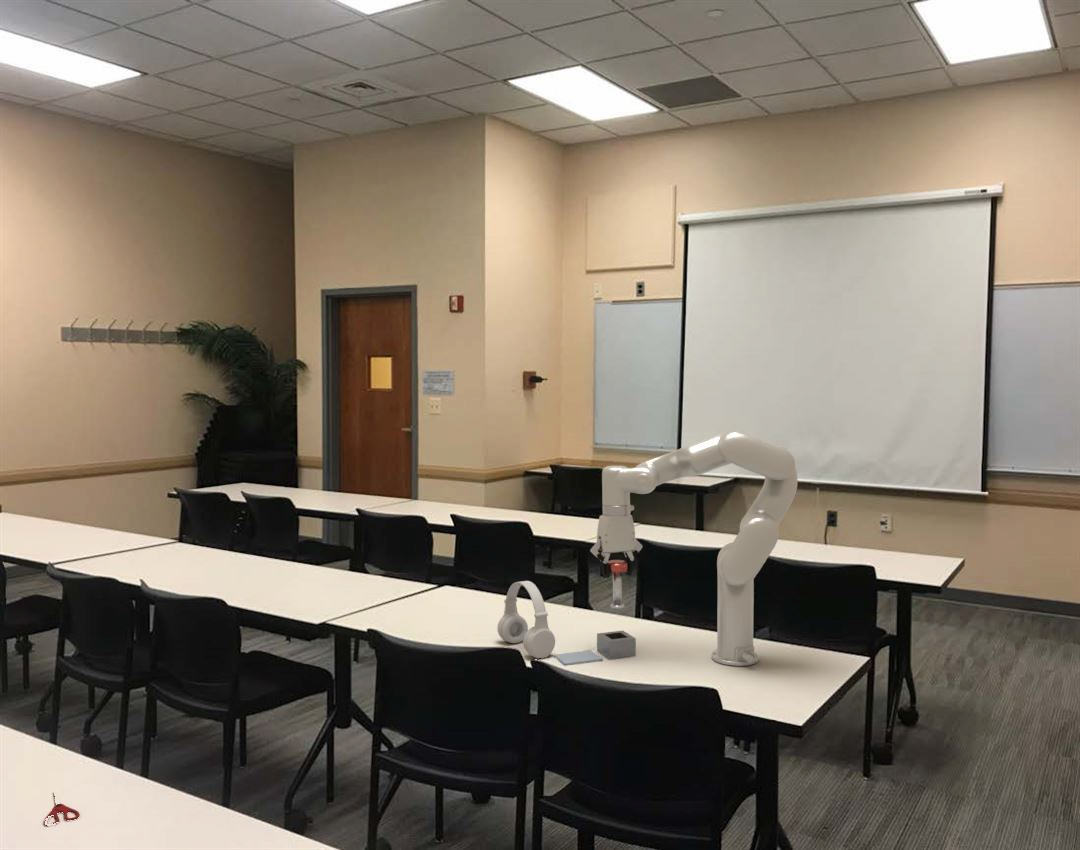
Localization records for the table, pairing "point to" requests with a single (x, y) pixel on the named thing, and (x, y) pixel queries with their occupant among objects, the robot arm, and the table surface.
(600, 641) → the eye block
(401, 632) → the table surface
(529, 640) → the headphones
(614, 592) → the red capped metal cylinder
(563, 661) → the pad
